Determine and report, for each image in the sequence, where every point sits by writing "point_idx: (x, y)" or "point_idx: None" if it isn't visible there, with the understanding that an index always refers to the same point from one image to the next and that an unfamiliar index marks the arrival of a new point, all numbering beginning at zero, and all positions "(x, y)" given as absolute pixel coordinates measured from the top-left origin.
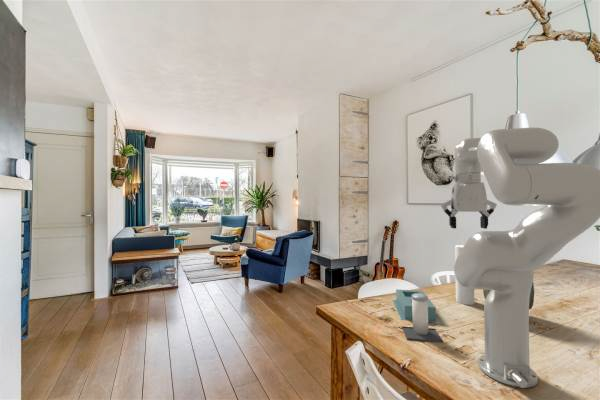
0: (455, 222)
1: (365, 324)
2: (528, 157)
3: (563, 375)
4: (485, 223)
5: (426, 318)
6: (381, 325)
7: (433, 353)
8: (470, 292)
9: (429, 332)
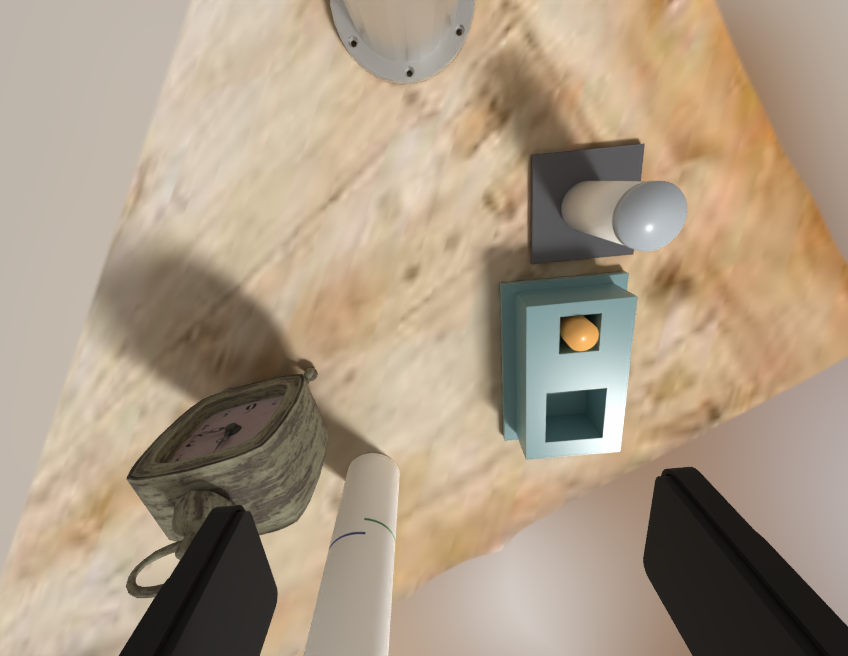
0: (743, 545)
1: (751, 226)
2: None
3: (252, 32)
4: (198, 574)
5: (594, 189)
6: (697, 231)
7: (583, 68)
8: (357, 484)
9: (558, 205)
